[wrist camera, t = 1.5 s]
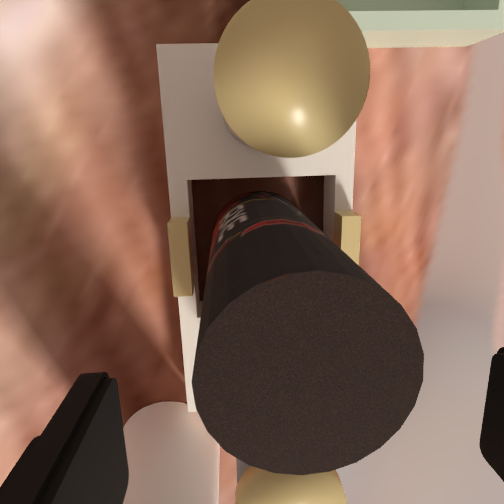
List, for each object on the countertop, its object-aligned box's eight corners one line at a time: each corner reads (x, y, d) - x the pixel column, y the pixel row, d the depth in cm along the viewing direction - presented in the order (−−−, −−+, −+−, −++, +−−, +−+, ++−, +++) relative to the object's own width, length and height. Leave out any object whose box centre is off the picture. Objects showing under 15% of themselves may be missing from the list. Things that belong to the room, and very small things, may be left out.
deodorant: (244, 172, 23) (274, 223, 9) (324, 222, 24) (470, 342, 10) (194, 254, 24) (148, 420, 10) (273, 298, 25) (336, 504, 11)
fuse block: (163, 55, 21) (84, -57, 9) (344, 52, 21) (489, -57, 10) (191, 388, 27) (164, 582, 15) (333, 379, 27) (414, 559, 16)
